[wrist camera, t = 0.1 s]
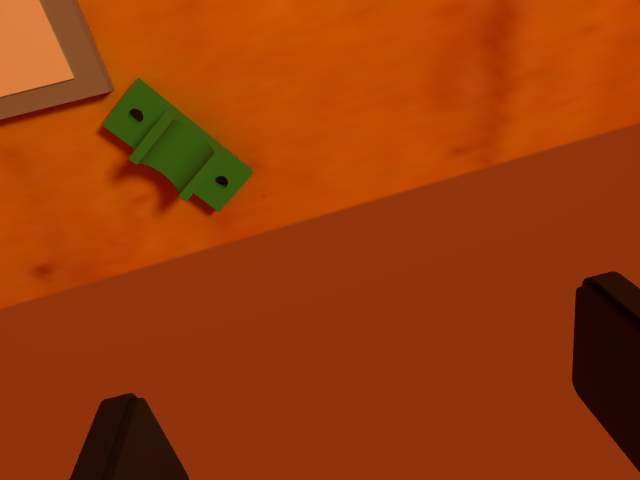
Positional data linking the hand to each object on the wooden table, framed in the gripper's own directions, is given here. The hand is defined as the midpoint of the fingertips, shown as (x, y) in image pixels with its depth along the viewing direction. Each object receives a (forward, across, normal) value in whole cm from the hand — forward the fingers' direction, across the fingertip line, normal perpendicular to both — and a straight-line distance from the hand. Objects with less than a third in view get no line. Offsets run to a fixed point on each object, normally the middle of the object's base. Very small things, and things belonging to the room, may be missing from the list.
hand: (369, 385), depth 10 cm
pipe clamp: (+29, +7, -2) cm, 30 cm away
